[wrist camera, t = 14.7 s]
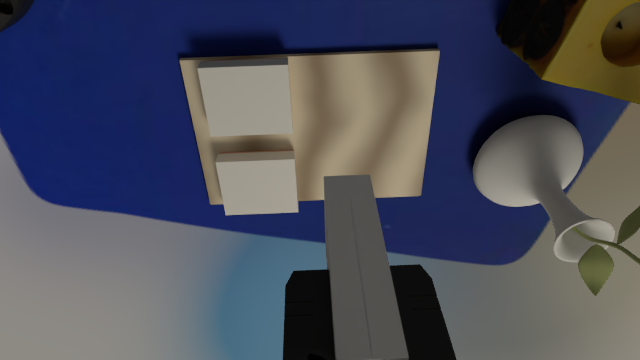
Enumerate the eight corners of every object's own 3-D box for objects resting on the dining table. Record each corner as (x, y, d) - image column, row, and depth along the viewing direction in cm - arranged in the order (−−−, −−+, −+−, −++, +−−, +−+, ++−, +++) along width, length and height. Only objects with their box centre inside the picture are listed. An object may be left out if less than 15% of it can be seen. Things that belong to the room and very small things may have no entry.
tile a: (293, 123, 46) (213, 126, 46) (288, 56, 42) (201, 59, 42) (292, 133, 44) (210, 136, 44) (287, 64, 40) (197, 68, 40)
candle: (548, -88, 36) (619, -70, 28) (655, -54, 38) (750, -29, 30) (490, 36, 42) (535, 80, 34) (585, 60, 44) (649, 108, 36)
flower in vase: (526, 207, 54) (660, 418, 34) (447, 175, 51) (543, 388, 31) (609, 118, 48) (837, 317, 27) (524, 76, 44) (711, 264, 24)
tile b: (298, 200, 52) (228, 203, 52) (294, 148, 48) (218, 151, 48) (298, 212, 50) (225, 215, 50) (294, 159, 46) (215, 162, 46)
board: (211, 201, 52) (210, 204, 52) (180, 58, 42) (179, 60, 42) (419, 192, 52) (420, 195, 52) (438, 48, 42) (439, 50, 42)
